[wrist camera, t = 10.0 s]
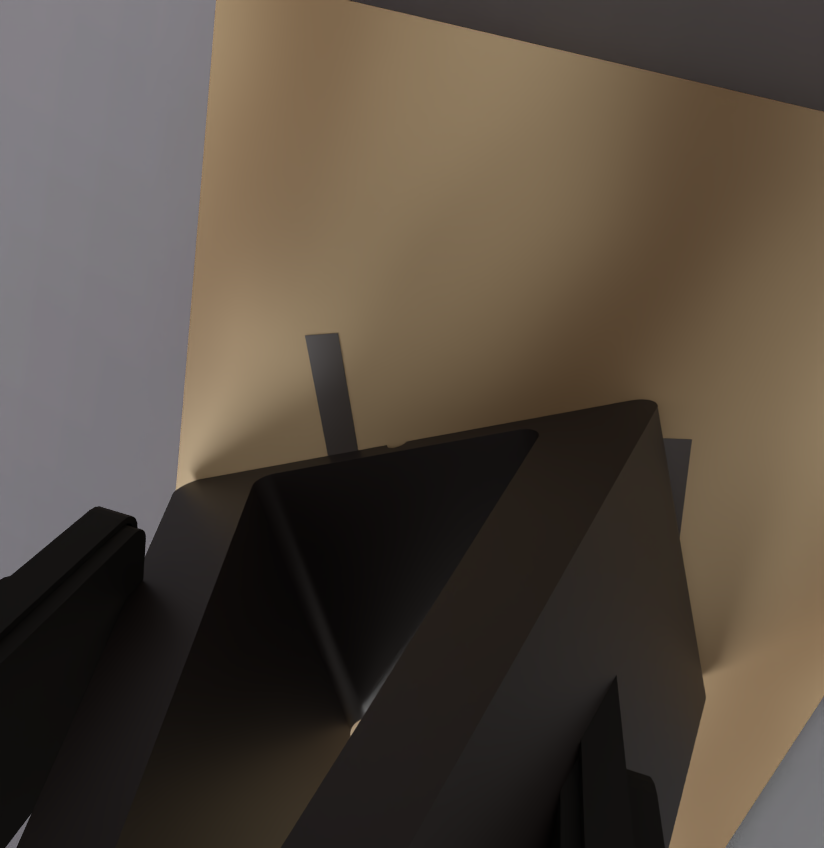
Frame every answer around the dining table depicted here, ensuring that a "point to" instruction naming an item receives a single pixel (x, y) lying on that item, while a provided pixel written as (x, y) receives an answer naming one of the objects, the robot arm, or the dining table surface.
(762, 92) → the dining table surface
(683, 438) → the marked board
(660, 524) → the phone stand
